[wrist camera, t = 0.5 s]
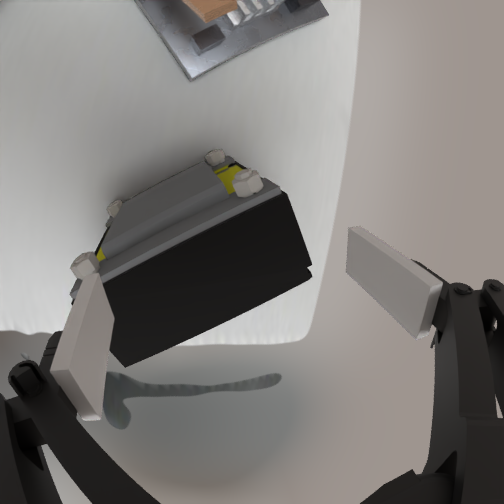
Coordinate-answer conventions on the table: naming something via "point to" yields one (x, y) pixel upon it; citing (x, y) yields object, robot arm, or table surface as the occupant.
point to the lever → (211, 8)
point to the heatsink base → (225, 29)
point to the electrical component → (194, 255)
